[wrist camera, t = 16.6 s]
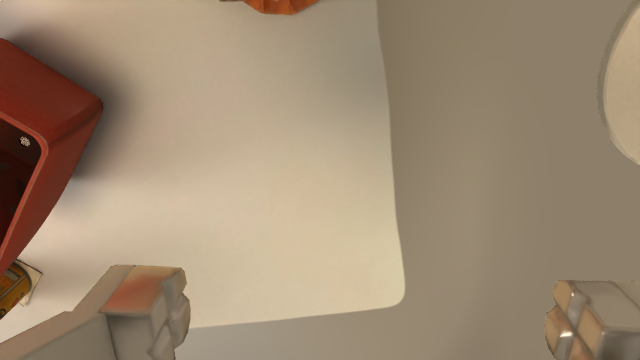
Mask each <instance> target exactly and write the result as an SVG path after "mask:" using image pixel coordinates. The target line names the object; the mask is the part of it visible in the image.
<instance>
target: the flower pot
mask: <svg viewBox="0 0 640 360" xmlns="http://www.w3.org/2000/svg"><path fill="white" fill-rule="evenodd" d="M103 108H104V106H103V103H102V101H101V100H100V99H99V98H98V97H97V96H95V95H94V94H92V93H90V92H89V91H87V90H85V89H84V88H82V87H81V86H79V85H78V84H76V83H74V82H73V81H71V80H70V79H68V78H67V77H65V76H63V75H62V74H60V73H59V72H57V71H55V70H54V69H52V68H51V67H49V66H47V65H46V64H44V63H43V62H41V61H39V60H38V59H36V58H34V57H33V56H31V55H30V54H28V53H27V52H25V51H23V50H22V49H20V48H19V47H17V46H15V45H14V44H12V43H11V42H9V41H7V40H4V39H2V38H0V277H1V276H2V275H3V273H4V272H5V271H6V270H7V269H8V268H9V267H10V265H11V264H12V263H13V262H14V260H15V259H16V258H17V257H18V256H19V254H20V253H21V252H22V251H23V250H24V248H25V247H26V246H27V244H28V243H29V242H30V240H31V239H32V238H33V237H34V235H35V234H36V233H37V231H38V230H39V228H40V227H41V226H42V224H43V223H44V221H45V220H46V218H47V217H48V215H49V214H50V212H51V211H52V209H53V208H54V206H55V204H56V203H57V201H58V199H59V198H60V196H61V194H62V193H63V191H64V189H65V187H66V185H67V184H68V182H69V180H70V178H71V176H72V173H73V171H74V169H75V167H76V165H77V163H78V161H79V159H80V157H81V155H82V153H83V151H84V149H85V147H86V145H87V142H88V140H89V138H90V136H91V134H92V132H93V130H94V128H95V126H96V124H97V122H98V120H99V118H100V116H101V114H102V112H103ZM21 137H26V138H27V139H28V140H29V142H30V145H29V146H28V147H24V146H22V145H21V144H20V143H19V138H21Z"/></svg>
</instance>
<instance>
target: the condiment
mask: <svg viewBox="0 0 640 360" xmlns="http://www.w3.org/2000/svg"><path fill="white" fill-rule="evenodd" d="M41 275H42V274H41V273H39V272H37V271H36V270H34V269H32V268H31V267H29V266H26V265H25V264H23V263H22V262H19V261H18V260H14V262H13V263H12V264H11V265H10V267H9V268H8V269H7V270H6V271H5V272H4V273H3V275H2V276H1V277H0V320H1V319H2V318H3V317H4V316H5V315H6V314H7V313H8V312H9V311H10V310H11V309H12V308H13V307H14V306H15V305H16V304H17V303H19V304H21V305H22V306H23V307H24V305H25V304H26V302H27V300H28V299H29V297H30V295H31V293H32V292H33V290H34V288H35V286H36V284H37V283H38V281H39V279H40V277H41Z"/></svg>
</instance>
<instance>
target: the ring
mask: <svg viewBox="0 0 640 360" xmlns="http://www.w3.org/2000/svg"><path fill="white" fill-rule="evenodd" d="M242 1H243V2H245V3H246V4H248V5H249V6H251V7H252V8H254V9H256V10H257V11H259V12H261V13H264V14H283V15H293V14H296V13H298V12H300V11H301V10H303V9H305V8H307V7H308V6H310V5H312V4H314V3H315V2H317V1H319V0H242Z"/></svg>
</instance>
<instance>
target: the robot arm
mask: <svg viewBox="0 0 640 360" xmlns="http://www.w3.org/2000/svg"><path fill="white" fill-rule="evenodd" d="M186 284H187V282H186V276H185V271H184V270H183V269H182V268H178V267H159V266H140V265H138V266H136V265H114V266H111V267H110V268H109V269H108V271H107V272H106V273H105V274H104V275H103V276H102V277H101V279H100V280H99V281H98V282H97V283H96V284H95V286H94V287H93V288H92V289H91V290H90V291H89V292H88V294H87V295H86V296H85V297H84V298H83V299H82V300H81V302H80V303H79V304H78V305H77V306H76V307H75V309H74V310H73V311H72V312H67V311H64V312H62V313H60V314H58V315H56V316H54V317H52V318H50V319H48V320H46V321H44V322H42V323H40V324H38V325H36V326H34V327H32V328H30V329H28V330H26V331H24V332H22V333H20V334H18V335H16V336H14V337H12V338H10V339H8V340H6V341H4V342H2V343H0V360H175V359H176V358H175V352H174V349H175V348H176V347H178V346H179V345H181V344H182V343H183V342H184V339H185V337H186V335H187V333H188V328H189V323H190V302H189V299H188V298H187V297H186V296H185V295H184V294H183V293H182V292H183V290H184V288H185V286H186ZM552 297H553V299H554V300H555V302H556V304H557V305H555V306H554V307H553V308H552V309H551V310H550V311H549V312H547V315H546V320H545V325H544V327H545V338H546V341H547V345H548V347H549V350H550V351H551V353H552V355H553V357H554V358H555V359H557V360H640V284H639V283H637V282H635V281H574V280H559V281H558V282H557V283H556V285H555V286H554V289H553V293H552Z"/></svg>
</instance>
